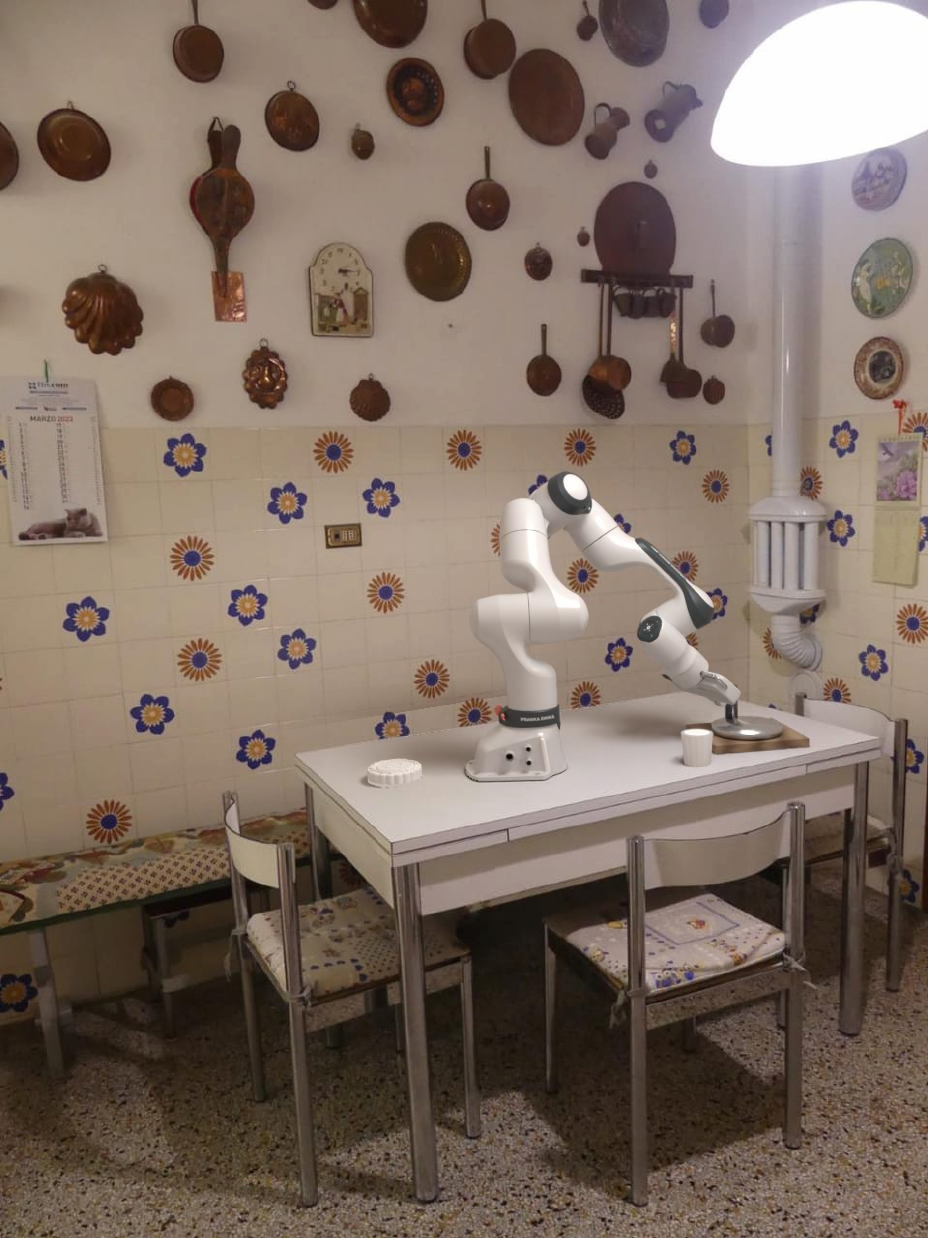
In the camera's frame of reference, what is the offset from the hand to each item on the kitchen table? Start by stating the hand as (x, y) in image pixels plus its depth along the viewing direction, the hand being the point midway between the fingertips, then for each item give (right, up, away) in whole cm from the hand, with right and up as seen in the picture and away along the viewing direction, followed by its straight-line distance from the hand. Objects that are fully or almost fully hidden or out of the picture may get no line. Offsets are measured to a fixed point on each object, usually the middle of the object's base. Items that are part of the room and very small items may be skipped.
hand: (722, 704), depth 228 cm
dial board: (+4, -8, -5) cm, 10 cm away
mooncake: (-77, -15, -21) cm, 82 cm away
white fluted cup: (-11, -11, -21) cm, 26 cm away
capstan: (+4, -6, -6) cm, 9 cm away
